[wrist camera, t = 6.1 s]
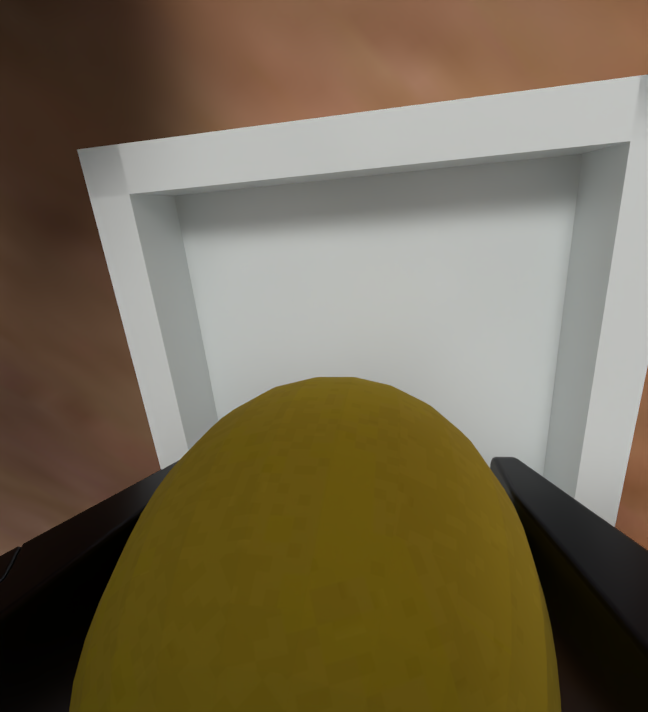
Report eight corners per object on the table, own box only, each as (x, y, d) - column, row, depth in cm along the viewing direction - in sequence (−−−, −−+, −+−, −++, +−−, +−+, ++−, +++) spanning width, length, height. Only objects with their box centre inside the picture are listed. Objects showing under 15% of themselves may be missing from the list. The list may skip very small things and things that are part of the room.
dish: (217, 510, 18) (186, 565, 15) (142, 160, 13) (77, 149, 11) (563, 527, 16) (600, 596, 13) (627, 101, 11) (708, 66, 8)
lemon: (510, 494, 9) (924, 1546, 2) (303, 545, 11) (119, 1235, 4) (425, 277, 8) (770, 1166, 1) (201, 372, 10) (-434, 932, 2)
